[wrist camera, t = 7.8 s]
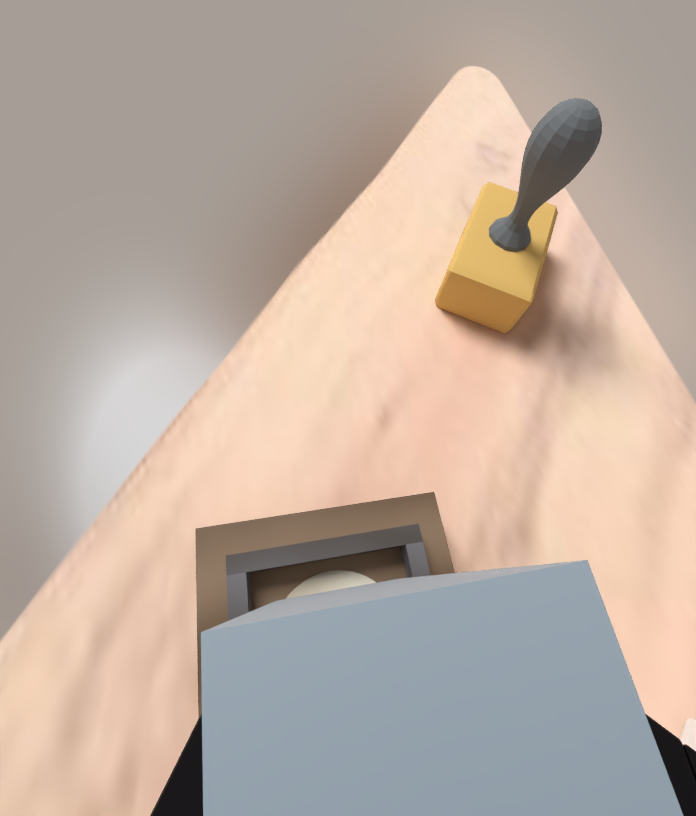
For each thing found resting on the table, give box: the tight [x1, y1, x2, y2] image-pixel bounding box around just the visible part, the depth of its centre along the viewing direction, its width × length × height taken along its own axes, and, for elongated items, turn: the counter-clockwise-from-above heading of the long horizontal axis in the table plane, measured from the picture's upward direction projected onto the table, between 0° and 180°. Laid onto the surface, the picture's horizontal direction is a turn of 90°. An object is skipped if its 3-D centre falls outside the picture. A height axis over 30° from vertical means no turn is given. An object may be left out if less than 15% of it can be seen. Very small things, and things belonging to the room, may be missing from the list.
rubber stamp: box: [435, 98, 602, 333], centre depth 25 cm, size 10×6×12 cm, turn 157°
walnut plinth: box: [196, 492, 454, 717], centre depth 18 cm, size 12×12×4 cm
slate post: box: [201, 560, 683, 816], centre depth 9 cm, size 4×4×11 cm
